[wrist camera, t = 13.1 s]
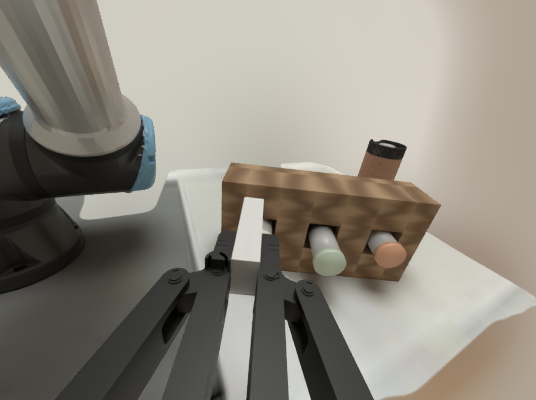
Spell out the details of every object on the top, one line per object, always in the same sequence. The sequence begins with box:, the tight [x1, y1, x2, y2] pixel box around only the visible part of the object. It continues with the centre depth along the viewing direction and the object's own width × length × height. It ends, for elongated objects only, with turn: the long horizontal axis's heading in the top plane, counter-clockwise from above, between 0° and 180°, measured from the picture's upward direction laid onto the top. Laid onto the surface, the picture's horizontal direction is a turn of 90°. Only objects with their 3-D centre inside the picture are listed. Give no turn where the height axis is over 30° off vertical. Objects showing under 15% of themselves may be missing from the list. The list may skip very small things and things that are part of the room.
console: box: [221, 163, 441, 281], centre depth 39 cm, size 32×8×16 cm, turn 89°
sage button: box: [308, 224, 346, 276], centre depth 33 cm, size 4×7×4 cm, turn 179°
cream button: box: [262, 218, 272, 234], centre depth 35 cm, size 4×7×4 cm, turn 179°
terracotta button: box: [367, 230, 407, 268], centre depth 36 cm, size 4×7×4 cm, turn 179°
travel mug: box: [358, 139, 407, 181], centre depth 53 cm, size 8×8×20 cm
